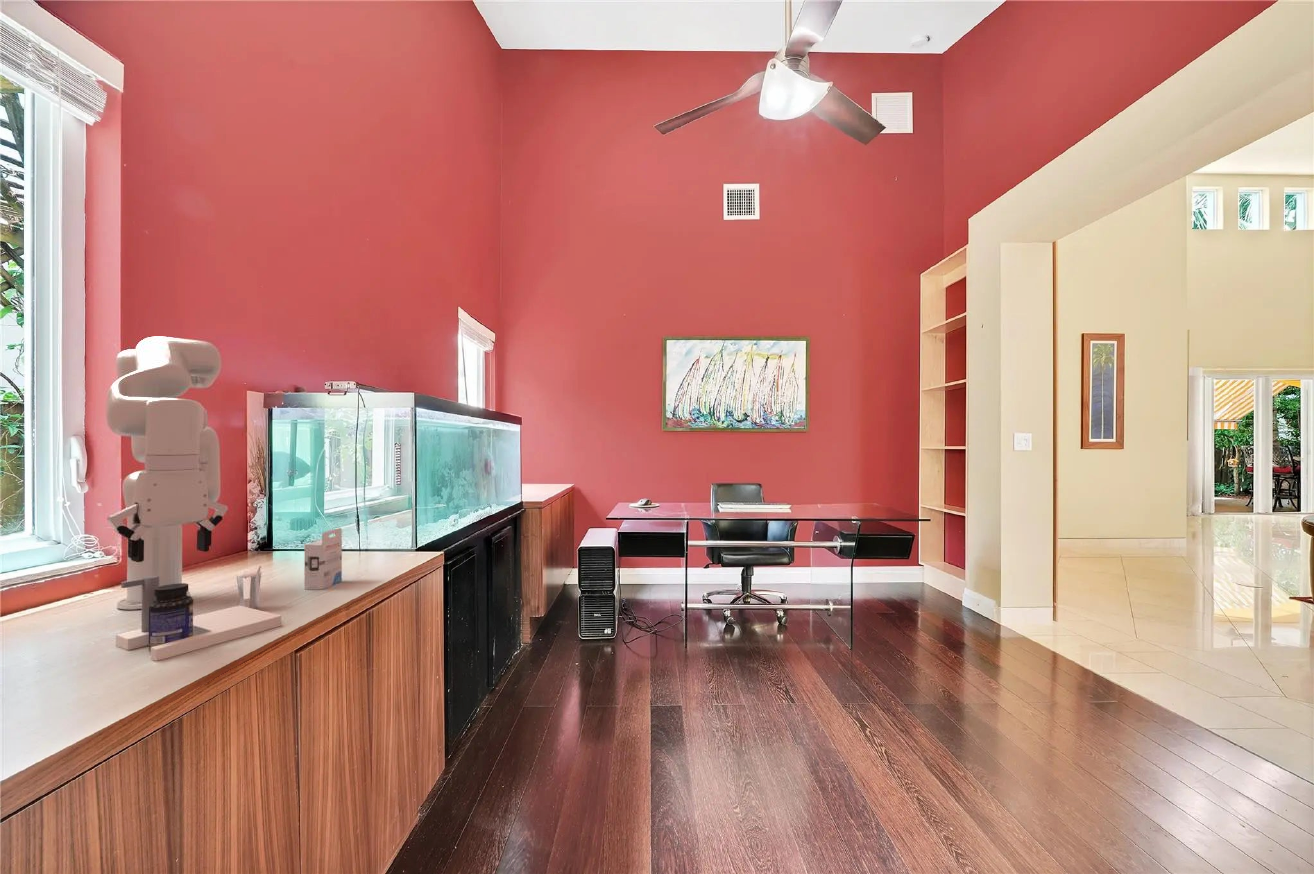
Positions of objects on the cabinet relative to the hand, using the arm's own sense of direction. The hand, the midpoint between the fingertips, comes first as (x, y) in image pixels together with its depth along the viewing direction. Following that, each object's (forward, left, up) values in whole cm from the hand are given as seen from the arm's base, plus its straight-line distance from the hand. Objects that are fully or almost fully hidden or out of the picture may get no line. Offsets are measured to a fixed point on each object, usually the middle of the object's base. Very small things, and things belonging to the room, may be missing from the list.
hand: (171, 555), depth 99 cm
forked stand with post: (-1, +5, -17) cm, 17 cm away
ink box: (-17, +38, -17) cm, 45 cm away
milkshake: (-11, +18, -17) cm, 27 cm away
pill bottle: (+1, 0, -17) cm, 17 cm away
